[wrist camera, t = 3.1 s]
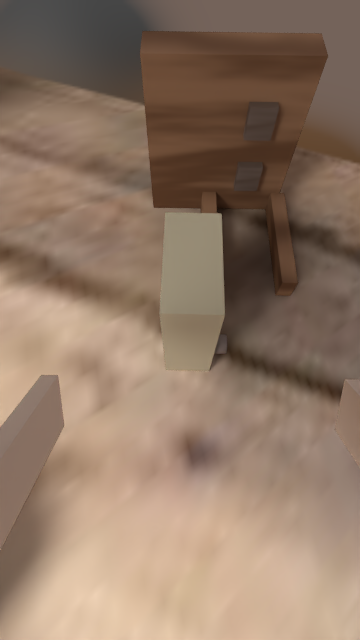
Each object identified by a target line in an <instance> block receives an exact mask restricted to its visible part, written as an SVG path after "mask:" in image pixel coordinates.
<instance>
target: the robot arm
mask: <svg viewBox="0 0 360 640" xmlns="http://www.w3.org/2000/svg"><path fill="white" fill-rule="evenodd" d="M63 427H64V420H63V412H62V403H61V395H60V387H59V379H58V375H41V376H40V377H39V379H38V380H37V381H36V383H35V384H34V385H33V386H32V388H31V389H30V390H29V392H28V393H27V394H26V395H25V397H24V398H23V399H22V401H21V402H20V403H19V404H18V406H17V407H16V408H15V410H14V411H13V412H12V413H11V415H10V416H9V417H8V419H7V420H6V421H5V422H4V424H3V425H2V426H1V427H0V551H1V549H2V547H3V545H4V543H5V541H6V539H7V537H8V535H9V533H10V531H11V529H12V527H13V525H14V523H15V521H16V519H17V517H18V515H19V513H20V511H21V509H22V507H23V505H24V503H25V502H26V500H27V498H28V496H29V494H30V492H31V490H32V488H33V486H34V484H35V482H36V480H37V478H38V476H39V474H40V472H41V470H42V468H43V466H44V464H45V462H46V460H47V458H48V456H49V454H50V452H51V451H52V449H53V447H54V445H55V443H56V441H57V439H58V437H59V435H60V433H61V431H62V429H63ZM335 430H336V432H337V434H338V435H339V437H340V438H341V440H342V441H343V443H344V444H345V446H346V447H347V449H348V450H349V452H350V453H351V455H352V457H353V458H354V460H355V461H356V463H357V464H358V466H359V467H360V380H359V379H345V381H344V386H343V391H342V396H341V401H340V406H339V411H338V416H337V421H336V426H335Z"/></svg>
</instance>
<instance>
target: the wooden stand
mask: <svg viewBox="0 0 360 640" xmlns="http://www.w3.org/2000/svg"><path fill="white" fill-rule="evenodd" d="M140 56H141V68H142V79H143V91H144V102H145V114H146V125H147V136H148V148H149V159H150V171H151V182H152V193H153V205H154V208H201V213H217V208H229V209H265V211H266V219H267V228H268V236H269V244H270V252H271V261H272V269H273V277H274V285H275V294H276V295H283V296H290V295H291V294H292V292H293V290H294V289H295V287H296V285H297V284H298V279H297V273H296V266H295V260H294V254H293V247H292V241H291V234H290V228H289V221H288V215H287V208H286V202H285V195H284V193H280V190H281V187H282V185H283V182H284V179H285V176H286V173H287V170H288V168H289V165H290V162H291V159H292V156H293V154H294V151H295V148H296V145H297V142H298V139H299V137H300V134H301V131H302V128H303V125H304V122H305V119H306V117H307V114H308V111H309V108H310V105H311V103H312V100H313V97H314V94H315V91H316V88H317V85H318V83H319V80H320V77H321V74H322V71H323V69H324V66H325V63H326V60H327V57H328V54H327V51H326V47H325V44H324V40H323V37H322V34H319V33H243V32H241V33H240V32H238V33H237V32H169V31H168V32H167V31H166V32H165V31H143V32H142V41H141V51H140Z"/></svg>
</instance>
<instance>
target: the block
mask: <svg viewBox="0 0 360 640" xmlns="http://www.w3.org/2000/svg"><path fill="white" fill-rule="evenodd" d="M224 317H225V302H224V271H223V240H222V214H219V213H177V212H165V226H164V244H163V262H162V279H161V297H160V322H161V331H162V340H163V349H164V358H165V367H166V370H175V371H209V369H210V366H211V362H212V359H213V355H214V353H217V354H226V352H227V335H224V334H220V331H221V327H222V324H223V320H224Z"/></svg>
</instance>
